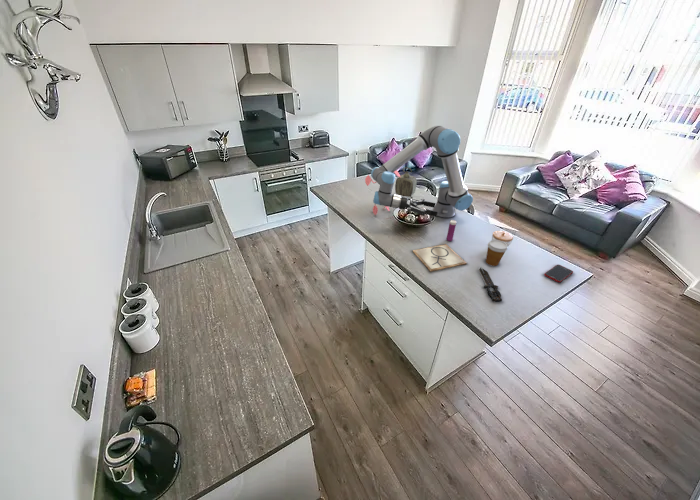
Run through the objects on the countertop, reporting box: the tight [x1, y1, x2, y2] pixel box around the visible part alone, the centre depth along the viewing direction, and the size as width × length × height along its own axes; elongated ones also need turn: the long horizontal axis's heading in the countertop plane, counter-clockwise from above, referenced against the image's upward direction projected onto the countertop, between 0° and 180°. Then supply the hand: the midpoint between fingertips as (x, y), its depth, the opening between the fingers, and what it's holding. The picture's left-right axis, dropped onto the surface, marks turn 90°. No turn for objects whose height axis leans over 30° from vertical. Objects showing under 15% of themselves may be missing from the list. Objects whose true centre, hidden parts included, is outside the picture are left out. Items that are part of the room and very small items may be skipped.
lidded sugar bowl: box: [491, 230, 514, 248], centre depth 167 cm, size 11×11×9 cm
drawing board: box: [412, 243, 468, 273], centre depth 160 cm, size 22×20×1 cm
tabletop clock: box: [394, 166, 418, 199], centre depth 219 cm, size 14×9×25 cm, turn 58°
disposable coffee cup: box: [485, 239, 509, 267], centre depth 153 cm, size 10×10×12 cm
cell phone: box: [543, 264, 574, 283], centre depth 147 cm, size 8×15×1 cm, turn 124°
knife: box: [478, 267, 503, 303], centre depth 141 cm, size 25×6×1 cm, turn 171°
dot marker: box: [446, 219, 457, 243], centre depth 172 cm, size 4×4×13 cm
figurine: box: [364, 169, 401, 220], centre depth 194 cm, size 15×26×35 cm, turn 118°
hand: (435, 209), depth 167 cm, fingers open, 13 cm apart
